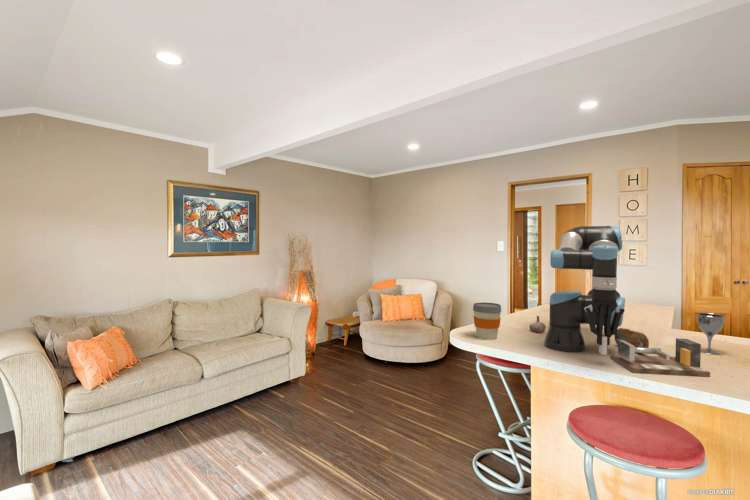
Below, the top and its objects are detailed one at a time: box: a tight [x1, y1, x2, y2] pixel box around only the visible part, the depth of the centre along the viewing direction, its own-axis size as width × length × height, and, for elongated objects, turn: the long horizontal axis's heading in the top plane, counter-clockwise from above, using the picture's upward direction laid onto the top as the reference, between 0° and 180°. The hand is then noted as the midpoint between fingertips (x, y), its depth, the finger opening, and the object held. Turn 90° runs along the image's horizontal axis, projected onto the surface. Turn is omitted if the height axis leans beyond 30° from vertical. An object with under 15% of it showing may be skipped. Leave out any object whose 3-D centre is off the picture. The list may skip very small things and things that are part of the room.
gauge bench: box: [609, 337, 711, 378], centre depth 130 cm, size 23×16×10 cm
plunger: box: [617, 340, 671, 362], centre depth 129 cm, size 12×11×6 cm
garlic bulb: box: [529, 315, 547, 334], centre depth 181 cm, size 8×7×8 cm
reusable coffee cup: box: [472, 302, 502, 340], centre depth 170 cm, size 13×13×15 cm
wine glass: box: [696, 312, 725, 356], centre depth 148 cm, size 8×8×15 cm
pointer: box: [680, 348, 690, 366], centre depth 124 cm, size 1×3×5 cm, turn 171°
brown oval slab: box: [614, 327, 650, 355], centre depth 150 cm, size 15×3×8 cm, turn 6°
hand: (602, 353), depth 133 cm, fingers closed
